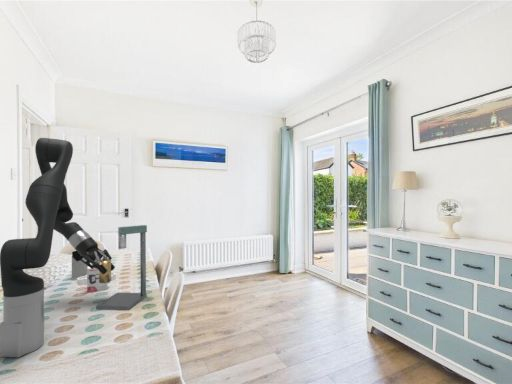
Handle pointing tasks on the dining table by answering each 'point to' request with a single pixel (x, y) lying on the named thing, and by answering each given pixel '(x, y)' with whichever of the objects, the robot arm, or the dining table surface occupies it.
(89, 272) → the ink box
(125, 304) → the stand
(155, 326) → the dining table surface
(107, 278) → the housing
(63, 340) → the dining table surface
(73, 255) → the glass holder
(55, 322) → the dining table surface
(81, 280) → the white brass knuckles
